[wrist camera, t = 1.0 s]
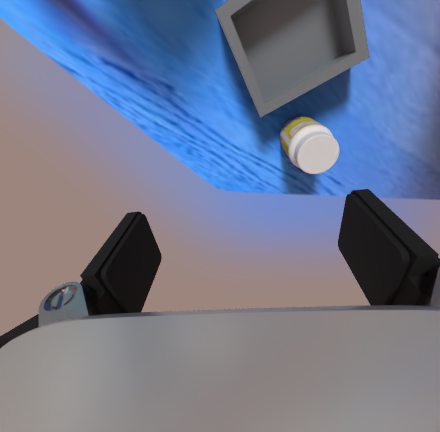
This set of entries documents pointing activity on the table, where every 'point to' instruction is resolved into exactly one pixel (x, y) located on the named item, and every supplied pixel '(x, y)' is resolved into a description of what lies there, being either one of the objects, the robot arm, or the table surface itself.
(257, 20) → the bin
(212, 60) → the table surface
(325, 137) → the supplement bottle
